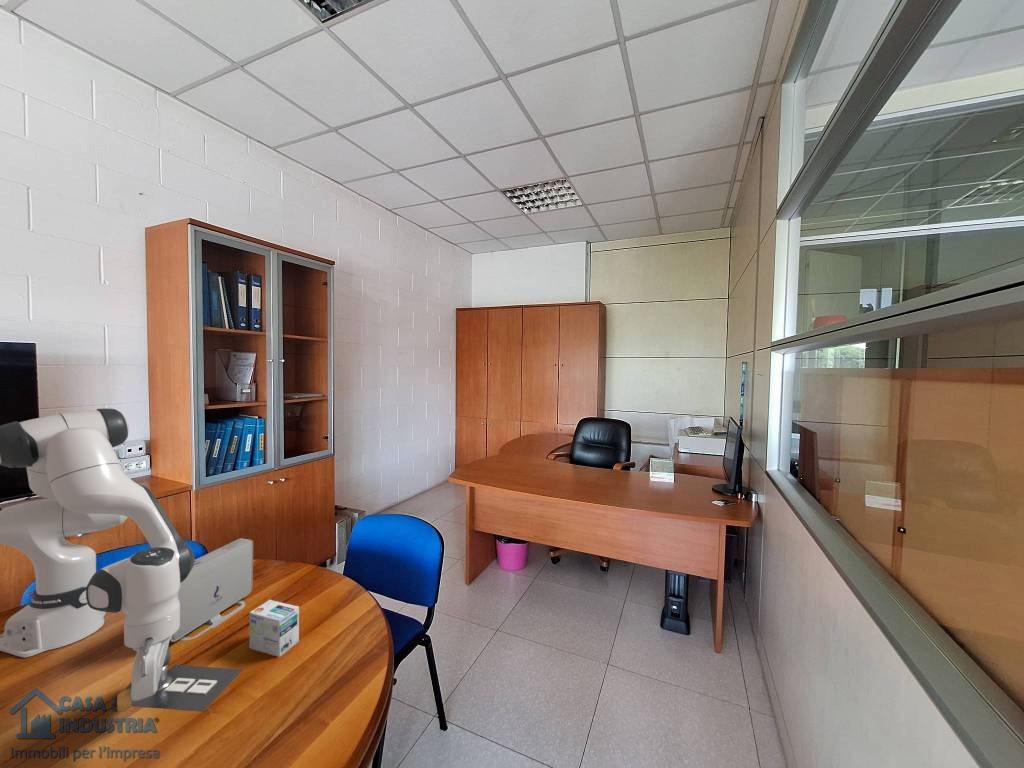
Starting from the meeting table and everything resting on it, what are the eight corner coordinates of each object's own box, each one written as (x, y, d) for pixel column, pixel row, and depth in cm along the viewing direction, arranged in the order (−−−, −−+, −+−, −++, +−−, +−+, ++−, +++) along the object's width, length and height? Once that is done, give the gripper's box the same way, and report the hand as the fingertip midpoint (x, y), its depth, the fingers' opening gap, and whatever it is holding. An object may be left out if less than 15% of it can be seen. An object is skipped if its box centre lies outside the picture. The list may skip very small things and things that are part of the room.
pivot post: (141, 693, 90) (141, 671, 90) (159, 678, 94) (159, 657, 94) (159, 695, 90) (159, 673, 89) (177, 680, 94) (177, 658, 94)
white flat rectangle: (186, 692, 90) (186, 691, 90) (199, 680, 93) (199, 679, 93) (204, 694, 90) (204, 692, 90) (217, 681, 93) (217, 680, 93)
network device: (177, 652, 103) (177, 579, 102) (151, 646, 105) (151, 574, 104) (258, 598, 128) (258, 538, 127) (236, 594, 130) (236, 535, 129)
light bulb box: (299, 642, 108) (300, 605, 108) (279, 660, 101) (279, 620, 101) (269, 634, 111) (270, 598, 110) (247, 650, 104) (248, 612, 104)
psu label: (163, 691, 90) (163, 689, 90) (177, 679, 94) (177, 677, 94) (182, 692, 90) (182, 691, 90) (195, 680, 93) (195, 678, 93)
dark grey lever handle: (155, 660, 93) (155, 648, 93) (173, 657, 94) (173, 645, 94) (110, 713, 79) (110, 699, 79) (131, 710, 80) (131, 695, 80)
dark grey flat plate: (125, 708, 86) (125, 705, 86) (174, 666, 98) (174, 664, 98) (203, 713, 85) (203, 711, 85) (243, 671, 97) (243, 669, 97)
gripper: (164, 650, 76) (164, 717, 77) (178, 598, 93) (178, 654, 93) (119, 663, 73) (119, 733, 73) (143, 606, 89) (143, 664, 90)
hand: (153, 688), depth 83 cm, fingers closed
